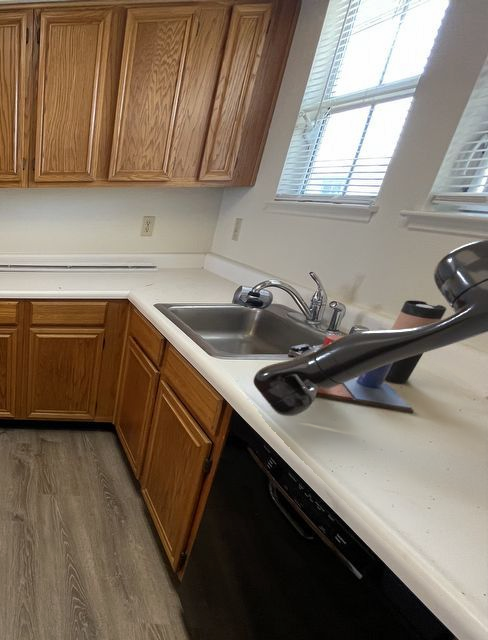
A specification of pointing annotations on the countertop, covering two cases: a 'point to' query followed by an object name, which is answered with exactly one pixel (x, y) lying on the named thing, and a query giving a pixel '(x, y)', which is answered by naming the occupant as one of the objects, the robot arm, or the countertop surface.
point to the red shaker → (330, 339)
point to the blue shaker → (374, 377)
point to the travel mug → (412, 317)
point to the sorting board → (366, 395)
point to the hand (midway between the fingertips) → (335, 351)
